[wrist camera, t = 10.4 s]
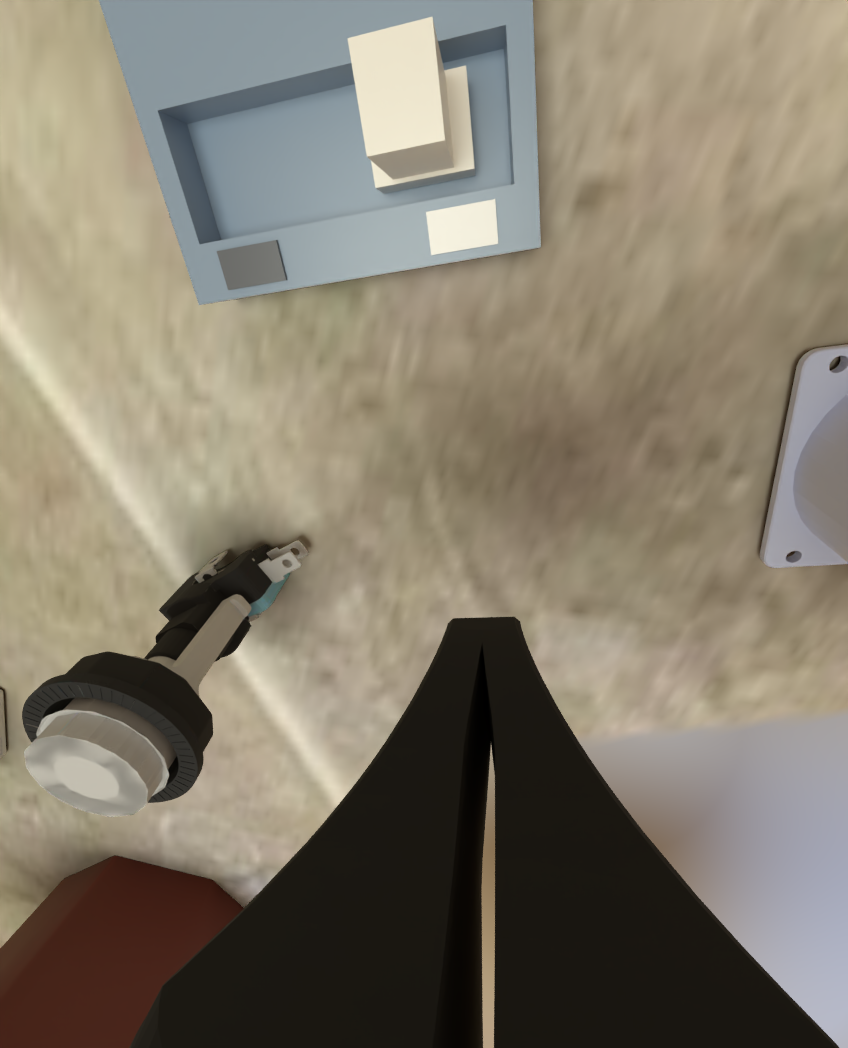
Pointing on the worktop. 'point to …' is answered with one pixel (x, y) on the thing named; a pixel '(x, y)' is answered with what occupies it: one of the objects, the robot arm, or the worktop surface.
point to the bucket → (103, 953)
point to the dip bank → (320, 138)
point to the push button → (149, 695)
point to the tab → (411, 108)
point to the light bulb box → (2, 726)
